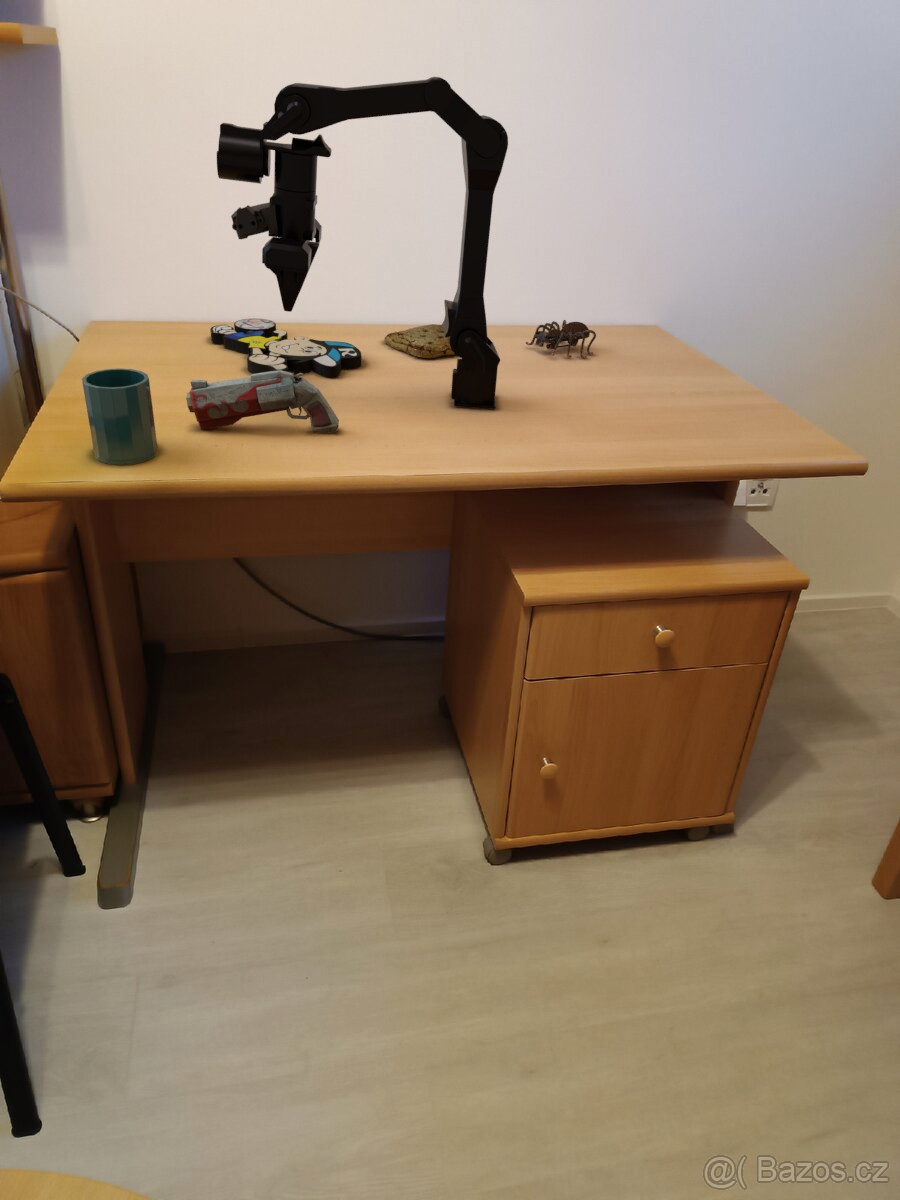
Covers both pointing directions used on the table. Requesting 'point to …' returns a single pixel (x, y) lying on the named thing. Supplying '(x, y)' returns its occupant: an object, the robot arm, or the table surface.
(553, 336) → the toy
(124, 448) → the pen holder
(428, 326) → the pastry
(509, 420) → the table surface
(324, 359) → the toy
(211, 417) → the toy gun
